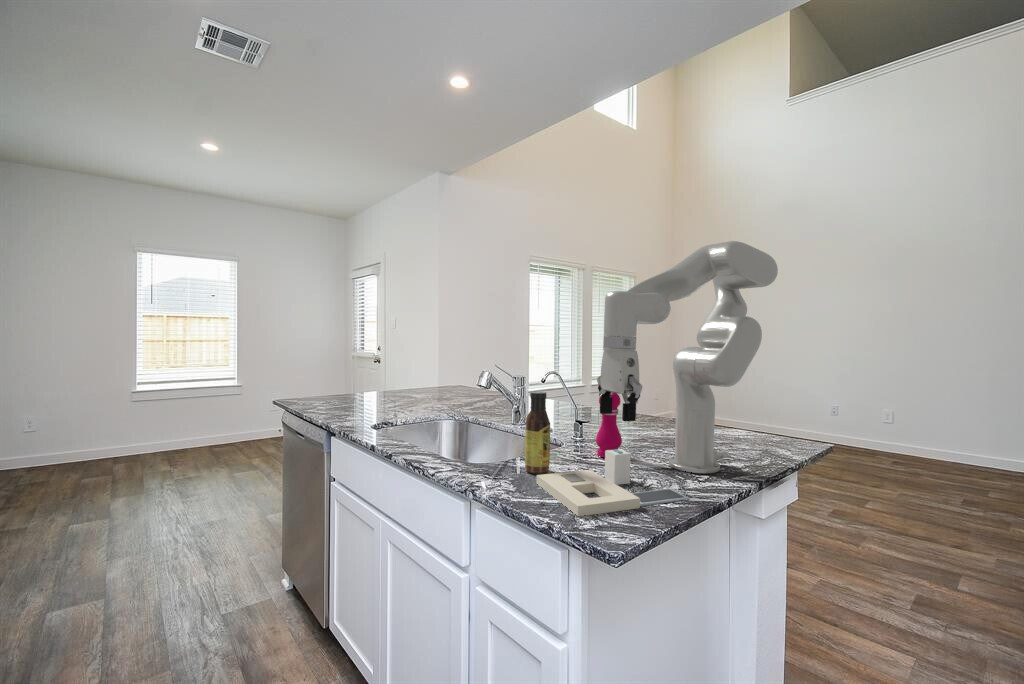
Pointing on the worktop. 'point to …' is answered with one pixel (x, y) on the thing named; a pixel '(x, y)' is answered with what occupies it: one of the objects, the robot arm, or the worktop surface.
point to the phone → (659, 496)
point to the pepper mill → (609, 429)
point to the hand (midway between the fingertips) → (616, 417)
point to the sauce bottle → (537, 436)
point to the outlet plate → (578, 482)
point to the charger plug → (617, 466)
